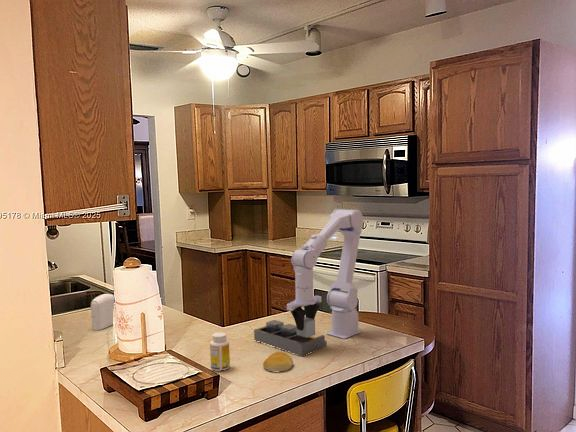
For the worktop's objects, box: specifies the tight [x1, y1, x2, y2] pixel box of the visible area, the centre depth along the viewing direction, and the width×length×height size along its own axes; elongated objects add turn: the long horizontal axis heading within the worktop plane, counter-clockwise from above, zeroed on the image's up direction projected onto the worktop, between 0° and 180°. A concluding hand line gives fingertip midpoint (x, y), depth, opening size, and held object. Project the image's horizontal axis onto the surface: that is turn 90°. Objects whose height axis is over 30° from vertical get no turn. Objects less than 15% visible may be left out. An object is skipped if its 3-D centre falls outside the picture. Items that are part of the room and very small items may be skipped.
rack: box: [253, 319, 328, 357], centre depth 167 cm, size 12×22×6 cm, turn 46°
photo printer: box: [90, 293, 115, 331], centre depth 190 cm, size 10×4×12 cm, turn 160°
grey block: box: [297, 316, 316, 338], centre depth 161 cm, size 4×4×5 cm
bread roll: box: [262, 351, 294, 372], centre depth 147 cm, size 8×9×4 cm
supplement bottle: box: [209, 332, 231, 372], centre depth 147 cm, size 6×6×10 cm
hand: (304, 328), depth 161 cm, fingers closed on grey block, 4 cm apart
